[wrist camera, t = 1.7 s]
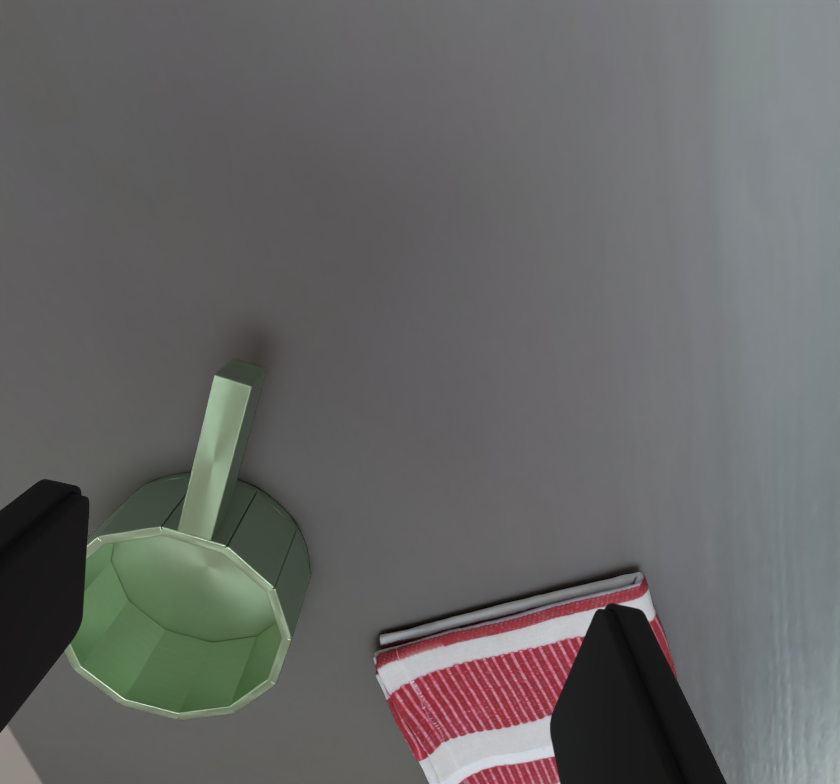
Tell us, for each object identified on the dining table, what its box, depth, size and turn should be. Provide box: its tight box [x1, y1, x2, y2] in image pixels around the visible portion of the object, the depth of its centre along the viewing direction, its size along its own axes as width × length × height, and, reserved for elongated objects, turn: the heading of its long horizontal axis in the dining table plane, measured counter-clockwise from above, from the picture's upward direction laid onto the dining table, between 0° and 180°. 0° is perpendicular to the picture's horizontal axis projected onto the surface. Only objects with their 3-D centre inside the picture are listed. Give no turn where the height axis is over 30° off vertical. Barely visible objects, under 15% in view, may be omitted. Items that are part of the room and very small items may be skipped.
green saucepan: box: [64, 358, 311, 720], centre depth 30 cm, size 20×12×6 cm, turn 161°
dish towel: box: [373, 572, 677, 784], centre depth 37 cm, size 17×24×3 cm
